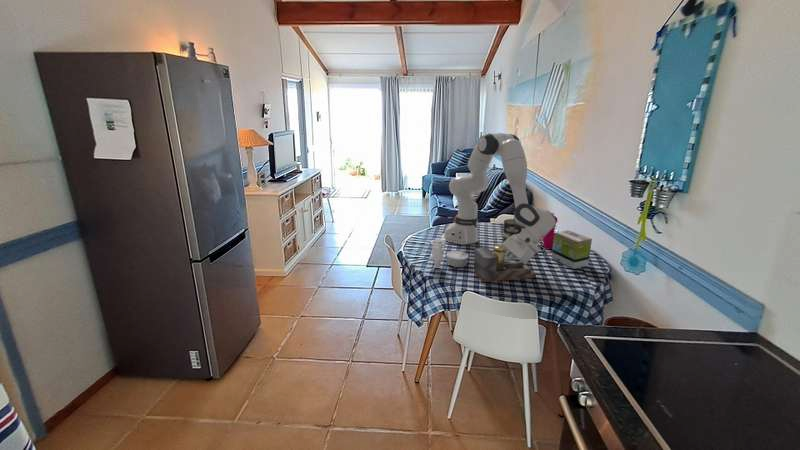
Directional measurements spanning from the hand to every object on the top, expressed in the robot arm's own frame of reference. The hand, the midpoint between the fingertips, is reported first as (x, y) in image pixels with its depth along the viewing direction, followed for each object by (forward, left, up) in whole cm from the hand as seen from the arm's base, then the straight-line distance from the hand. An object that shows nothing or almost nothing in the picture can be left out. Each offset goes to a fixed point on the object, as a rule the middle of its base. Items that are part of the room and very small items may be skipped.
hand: (504, 260), depth 174 cm
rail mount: (0, 0, -7) cm, 7 cm away
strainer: (-32, -3, -7) cm, 33 cm away
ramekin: (-24, +5, -8) cm, 25 cm away
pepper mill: (+19, +47, -7) cm, 52 cm away
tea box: (+29, +27, -8) cm, 41 cm away
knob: (-3, -2, -5) cm, 6 cm away
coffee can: (-1, +43, -7) cm, 44 cm away
